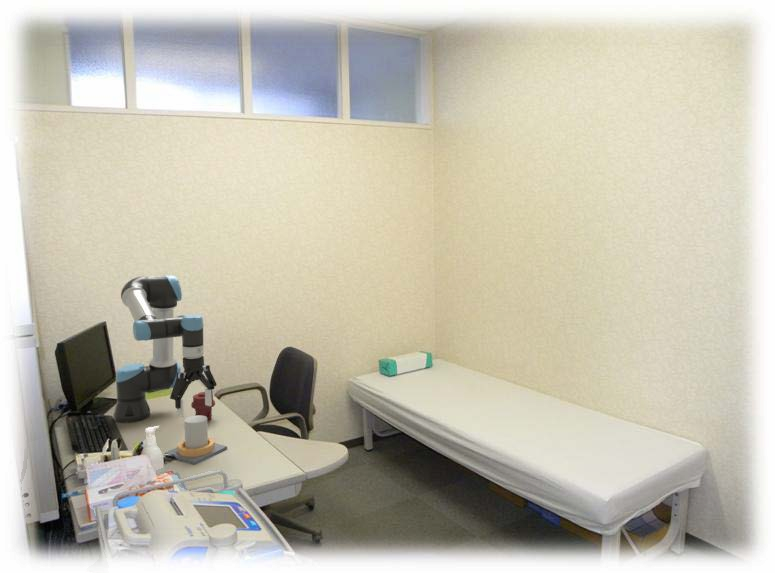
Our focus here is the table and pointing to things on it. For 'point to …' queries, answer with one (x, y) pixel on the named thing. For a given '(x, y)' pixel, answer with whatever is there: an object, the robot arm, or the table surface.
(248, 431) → the table surface
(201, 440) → the grey cylinder
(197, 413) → the mechanical component
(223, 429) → the table surface
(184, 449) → the socket board
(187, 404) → the table surface
